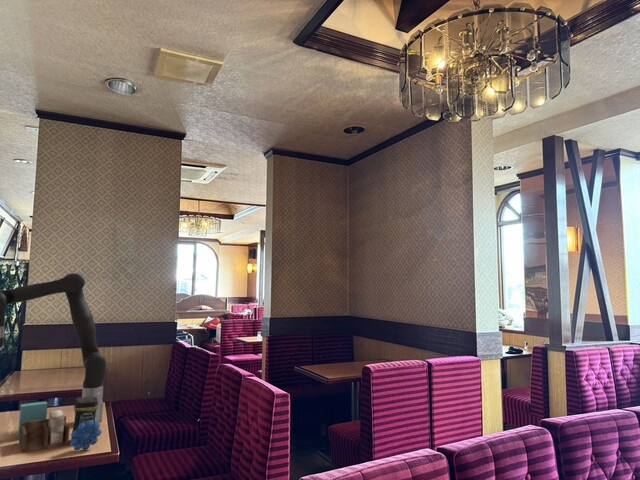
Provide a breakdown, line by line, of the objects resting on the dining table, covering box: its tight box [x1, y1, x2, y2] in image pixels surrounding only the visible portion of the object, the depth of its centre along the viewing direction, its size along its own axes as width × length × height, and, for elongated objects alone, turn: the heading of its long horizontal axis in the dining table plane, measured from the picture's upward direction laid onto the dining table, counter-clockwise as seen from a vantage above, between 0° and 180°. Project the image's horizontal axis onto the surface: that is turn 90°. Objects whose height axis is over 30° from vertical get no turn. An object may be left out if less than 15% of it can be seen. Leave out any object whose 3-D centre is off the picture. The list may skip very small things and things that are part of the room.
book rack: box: [18, 409, 70, 454], centre depth 192 cm, size 17×14×12 cm
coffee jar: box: [70, 396, 98, 440], centre depth 198 cm, size 10×8×19 cm
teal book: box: [17, 401, 49, 440], centre depth 201 cm, size 4×10×14 cm, turn 128°
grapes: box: [69, 420, 103, 452], centre depth 187 cm, size 12×7×12 cm, turn 119°
